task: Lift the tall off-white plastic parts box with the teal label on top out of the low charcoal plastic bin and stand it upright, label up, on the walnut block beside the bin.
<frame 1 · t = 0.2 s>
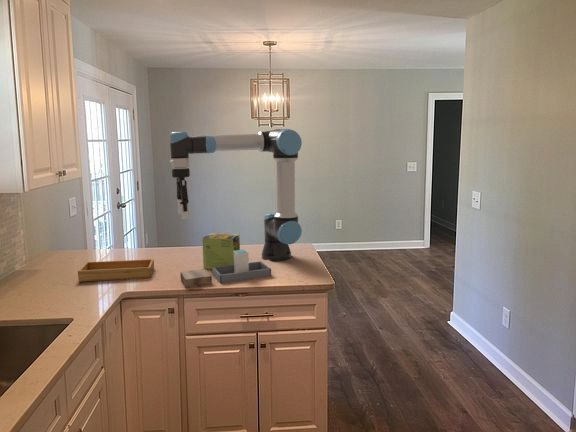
hand: (183, 216, 214), 28 cm above the worktop, tool pointing down, fingers open, 13 cm apart
stand: (196, 282, 209), on the worktop
tray: (118, 276, 222), on the worktop
bin: (241, 276, 217), on the worktop
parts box: (241, 275, 217), point 1 cm above the worktop, touching bin
protein box: (222, 267, 232), on the worktop
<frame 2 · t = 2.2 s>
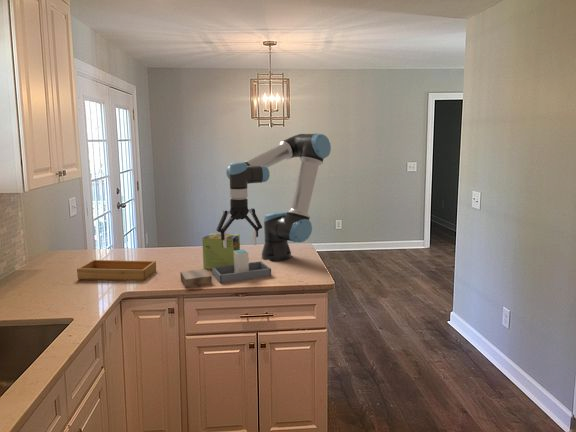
hand: (240, 245, 214), 14 cm above the worktop, tool pointing down, fingers open, 13 cm apart
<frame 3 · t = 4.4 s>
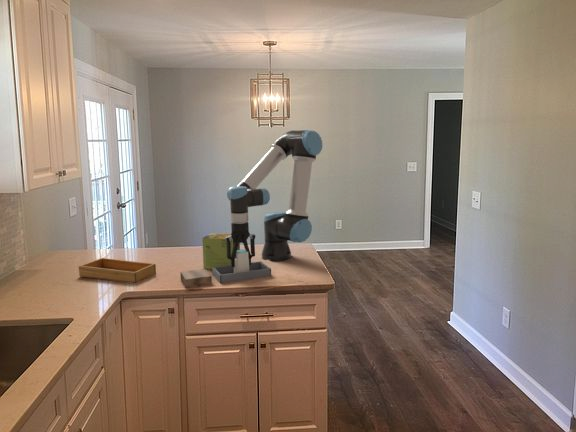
hand: (241, 272, 217), 2 cm above the worktop, tool pointing down, fingers closed on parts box, 5 cm apart
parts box: (241, 275, 217), point 1 cm above the worktop, touching bin, gripper
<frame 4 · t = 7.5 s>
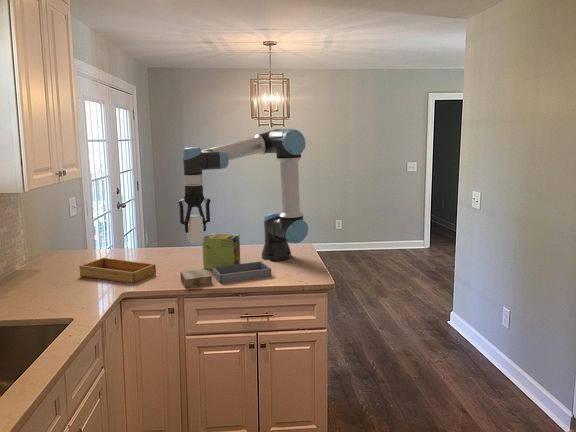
hand: (195, 239, 206), 19 cm above the worktop, tool pointing down, fingers closed on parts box, 5 cm apart
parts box: (196, 241, 206), point 18 cm above the worktop, touching gripper
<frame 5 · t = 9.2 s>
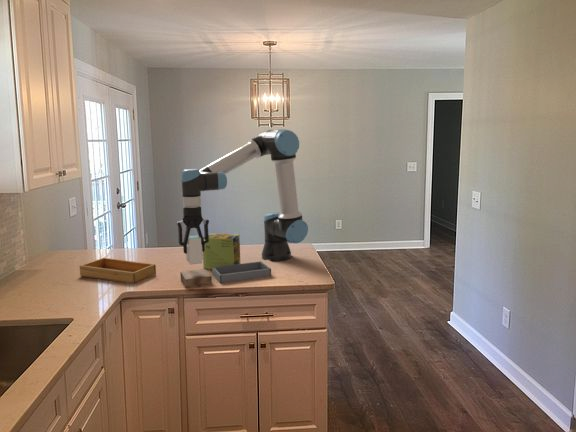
hand: (194, 259, 207), 10 cm above the worktop, tool pointing down, fingers closed on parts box, 5 cm apart
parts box: (194, 262, 208), point 9 cm above the worktop, touching gripper
when the fingers open (7 cm above the worktop, at t = 10.6 s): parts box drops 2 cm, resting on stand.
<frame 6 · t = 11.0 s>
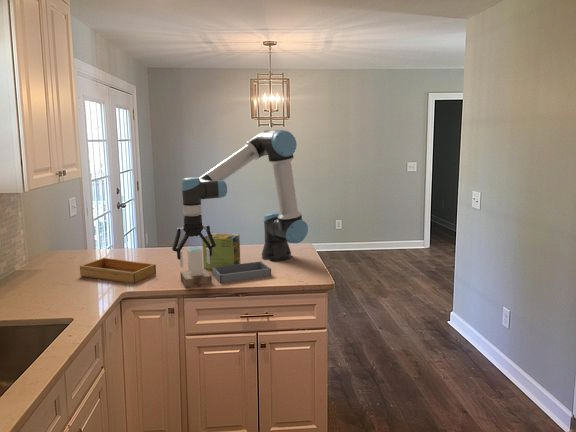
hand: (195, 264, 208), 8 cm above the worktop, tool pointing down, fingers open, 11 cm apart
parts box: (195, 273, 209), point 4 cm above the worktop, touching stand
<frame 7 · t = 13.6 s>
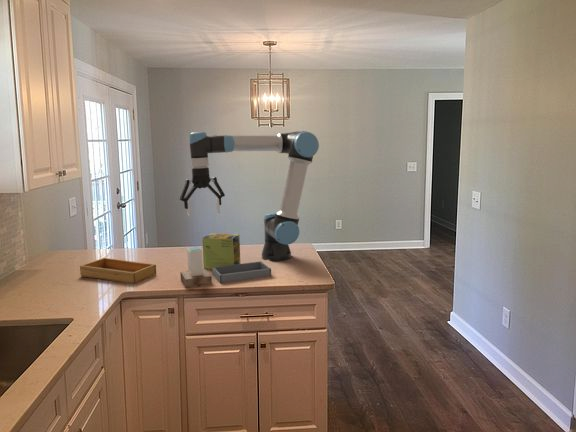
hand: (203, 214, 220), 27 cm above the worktop, tool pointing down, fingers open, 13 cm apart
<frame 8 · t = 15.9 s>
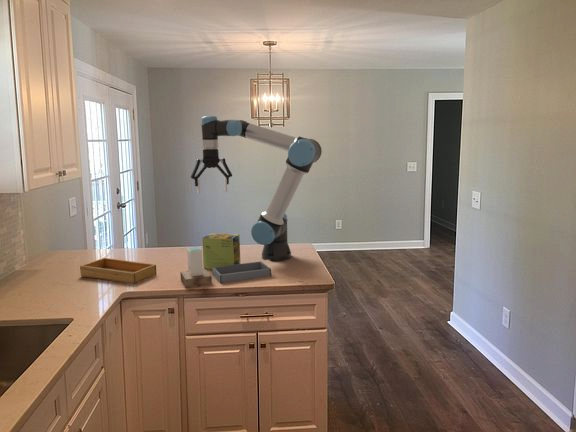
hand: (212, 192, 239), 35 cm above the worktop, tool pointing down, fingers open, 13 cm apart
at the end: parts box inside the target area (0.0 cm from its centre), point 4.0 cm above the worktop; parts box tilted 0°; the gripper is holding nothing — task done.
